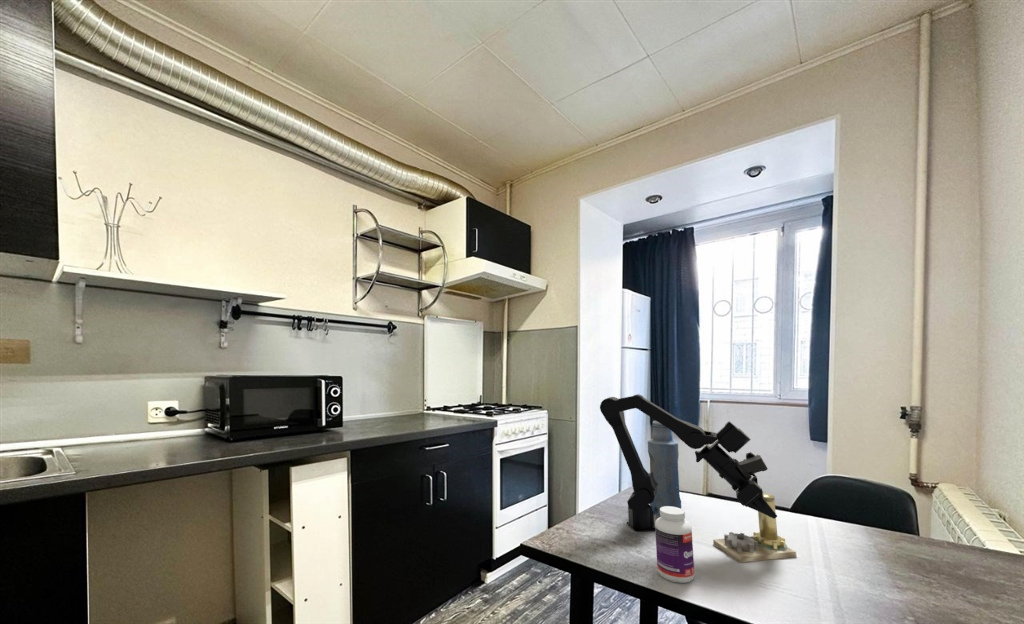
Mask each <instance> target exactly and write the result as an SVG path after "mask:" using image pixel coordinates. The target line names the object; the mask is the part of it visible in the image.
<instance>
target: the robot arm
mask: <svg viewBox="0 0 1024 624" xmlns="http://www.w3.org/2000/svg"><path fill="white" fill-rule="evenodd" d="M634 409H637V410H639V411H640V412H642V413H643V414H645V415H646V416H648V417H649V418H651V419H652V420H653V421H655V420H656V421H657V422H659V423H661V424H662V425H664V426H665V427H667V428H669V429H670V430H671V432H672V433H674V434H675V435H676V436H677V438H678V439H679V440H681V441H682V442H683V443H684V444H685V445H686V446H687V447H689V448H690V449H693V450H694V455H695V462H696V463H699V462H701V461H702V460H704V461H705V462H706V463H707V464H708V465H709V466H710V467H711V468H712V469H713V470H714V471H715V472H716V473H718V476H719V477H720V478H721V479H723V480H725V481H726V482H727V483H728V484H729V485H730V486H731V489H732V490H733V491H734V492H735V497H736V500H737V502H739V504H741V505H742V506H743V507H747V508H750V509H752V510H754V511H756V512H758V511H759V512H761V513H763V514H765V515H767V516H769V517H772V518H774V519H775V518H776V519H777V518H778V515H777V512H776V511H775V512H776V513H775V512H774V511H773V509H772V508H771V507H770V506H769V504H768V503H767V502H766V501H765V499H764V498H763V493H764V491H763V488H762V487H761V486H760V485H759V484H758V483H759V482H758V477H757V475H756V474H757V473H759V472H765V471H767V470H769V469H768V467H767V465H766V463H765V461H764V459H763V458H762V457H761V456H762V455H760V454H754V453H753V452H752V451H749V452H748V453H745V459H743V460H741V461H738V460H737V458H734V457H732V456H730V454H729V453H735V454H736V453H738V451H740V450H741V449H742V448H744V446H745V445H747V444H748V443H749V442H750V441H751V439H752V438H750V437H749V436H748V435H747V434H746V433H745V432H744V431H743V429H740V428H738V427H737V426H736V425H734V423H733V422H731V421H727V422H726V423H725V425H724V426H723V427H721V429H720V430H719V431H718V432H713V431H707V430H705V429H703V428H702V427H701V426H698V425H696V424H693V423H691V422H689V421H686V420H683V419H680V418H679V417H677V416H675V415H673V414H671V413H670V412H668V411H666V410H665V409H663V408H662V407H660V406H658V405H657V404H655V403H653V402H652V401H650V400H649V399H648V398H645V397H644V396H643V395H641V394H640V393H639V394H634V395H631V396H626V397H622V398H621V397H620V398H617V397H615V396H608V397H607V398H605V399H602V401H601V402H600V405H599V410H600V413H601V415H603V418H604V419H605V420H606V422H607V423H608V424H609V426H610V427H611V428H612V431H613V434H614V435H615V438H616V440H617V442H618V444H619V447H620V450H621V452H622V454H623V457H624V460H625V462H626V465H627V467H628V469H629V472H630V477H631V485H632V489H633V490H632V493H631V494H630V496H629V498H628V500H627V502H626V503H627V515H628V521H626V522H625V523H626V525H627V526H628V527H630V528H631V529H632V530H633V531H634V532H636V533H638V532H639V533H640V532H652V531H654V532H655V515H654V512H653V511H652V506H650V503H652V502H653V501H654V498H655V496H656V493H657V486H658V484H657V482H656V481H655V479H654V476H653V472H650V471H649V472H648V471H647V470H646V469H645V467H644V465H643V463H642V460H641V458H640V456H639V453H638V450H637V448H636V445H635V443H634V441H633V439H632V437H631V434H630V432H629V429H628V426H627V424H626V420H625V419H626V418H625V411H628V410H630V411H631V410H634ZM699 449H701V450H700V451H699ZM726 451H727V452H728V453H727V452H726Z"/></svg>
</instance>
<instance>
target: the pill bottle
mask: <svg viewBox="0 0 1024 624" xmlns="http://www.w3.org/2000/svg"><path fill="white" fill-rule="evenodd" d="M685 512H686V511H685V510H684V509H682V508H681V509H680V508H677V507H672V506H664V507H661V508H660V515H659V516H660V517H658V518H657V519H655V521H654V527H655V530H654V532H655V549H656V551H655V552H656V566H657V572H658V574H659V575H660V576H661V577H662V578H664V579H665V580H667V581H670V582H674V583H682V584H684V583H690V582H691V581H693V579H694V578H695V560H694V545H693V544H694V543H693V531H692V525H691V524H690V522H688V520H687V519H686V520H685V518H686V513H685Z"/></svg>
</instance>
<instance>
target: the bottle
mask: <svg viewBox="0 0 1024 624" xmlns="http://www.w3.org/2000/svg"><path fill="white" fill-rule="evenodd" d="M647 453H648V456H649V470H650V471H649V473H650V472H653V476H654V479H655V481H656V482H657V484H658V486H657V493H656V496H655V498H654V501H653V502H652V503H650V504H649V505H650V506H652V511H653V512H654V514H655V515H657V516H660V508H661V507H664V506H672V507H677V508H680V509H682V499H681V496H680V495H681V494H680V476H679V442H678V440H674V438H673V431H671V430H670V429H669V428H667V427H665V426H664V425H662V424H661V423H659V422H657V421H656V420H653V421H652V438H649V439H648V440H647Z"/></svg>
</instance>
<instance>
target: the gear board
mask: <svg viewBox="0 0 1024 624" xmlns="http://www.w3.org/2000/svg"><path fill="white" fill-rule="evenodd" d="M723 537H724V538H716V539H713V541H712V542H713V545H714V546H715V547H717V548H718V549H720V550H721V551H723V552H724V553H725V554H728V555H729V556H730V557H732V558H733V559H734V560H736V561H738V562H739V563H745V562H753V561H755V562H756V561H757V562H758V561H765V560H766V561H767V560H775V559H776V560H777V559H787V558H797V551H796V550H794V549H793V548H790V547H788V545H787V544H786V545H785V546H786V548H777V549H773V548H770V547H762V546H761V545H760V544H759V543H758V541H755V538H754V537H753V535H752V536H751V535H749V536H748V535H746V534H745V533H742V532H740V533H734V532H732V531H731V532H728V534H726V533H725V534H724V536H723Z"/></svg>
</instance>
